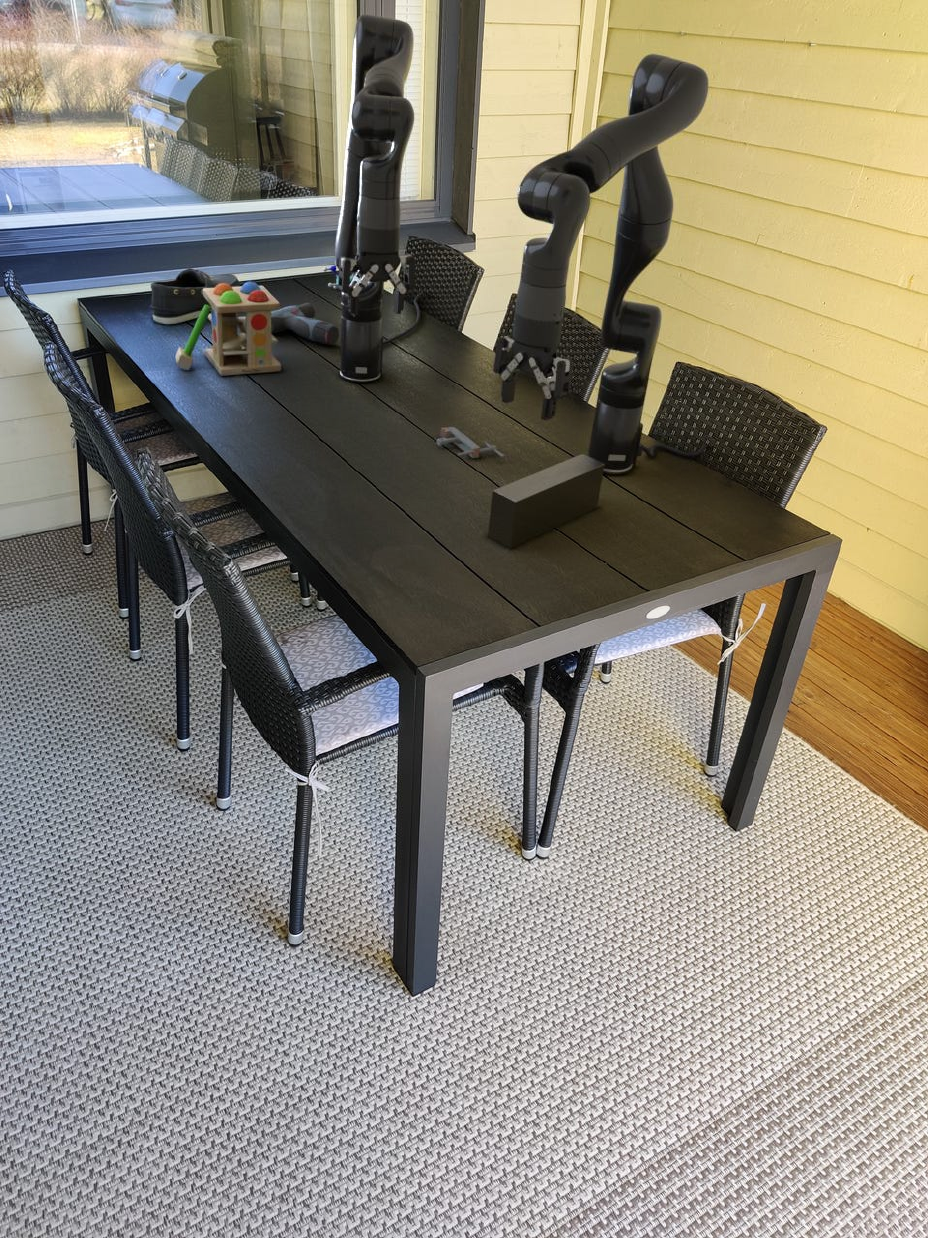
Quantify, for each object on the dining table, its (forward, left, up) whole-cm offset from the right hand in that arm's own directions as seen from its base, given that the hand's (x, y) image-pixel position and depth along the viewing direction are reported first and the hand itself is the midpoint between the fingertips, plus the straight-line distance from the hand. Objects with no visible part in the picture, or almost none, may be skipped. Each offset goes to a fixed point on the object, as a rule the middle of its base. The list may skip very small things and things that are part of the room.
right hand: (527, 410), depth 160 cm
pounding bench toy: (+15, -96, -24) cm, 100 cm away
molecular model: (-38, -141, -24) cm, 148 cm away
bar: (-9, -2, -24) cm, 26 cm away
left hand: (+6, -40, +4) cm, 41 cm away
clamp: (-12, -34, -24) cm, 43 cm away
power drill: (-14, -110, -24) cm, 113 cm away
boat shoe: (+6, -138, -24) cm, 140 cm away
